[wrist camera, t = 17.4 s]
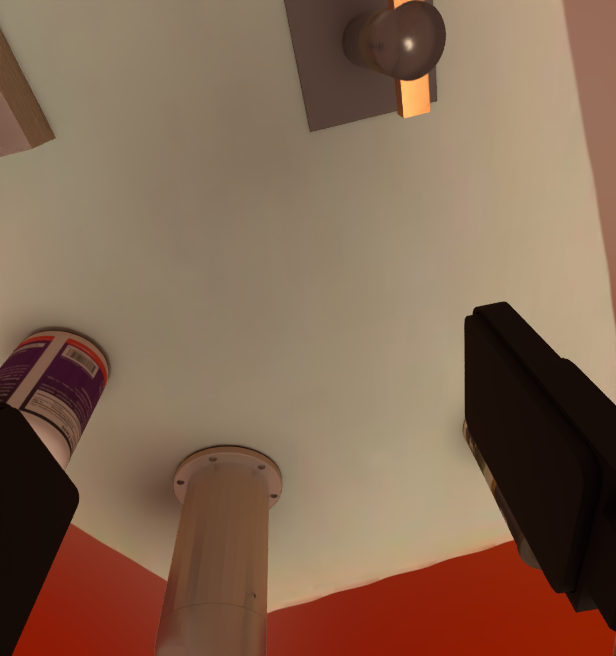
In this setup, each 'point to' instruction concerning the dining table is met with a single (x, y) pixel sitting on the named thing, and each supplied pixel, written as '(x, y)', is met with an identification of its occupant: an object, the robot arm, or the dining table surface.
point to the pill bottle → (55, 387)
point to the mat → (338, 64)
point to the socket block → (18, 108)
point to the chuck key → (399, 48)
